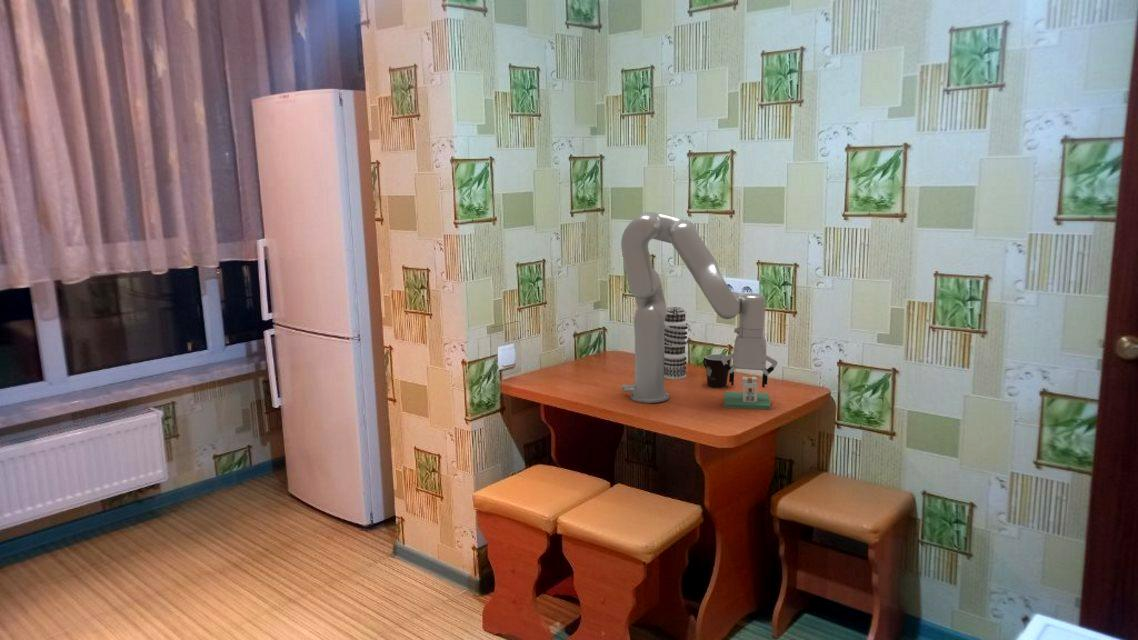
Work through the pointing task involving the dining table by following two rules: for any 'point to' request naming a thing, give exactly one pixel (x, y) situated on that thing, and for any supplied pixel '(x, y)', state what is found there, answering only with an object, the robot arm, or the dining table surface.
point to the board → (737, 400)
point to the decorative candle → (675, 343)
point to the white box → (750, 383)
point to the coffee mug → (716, 371)
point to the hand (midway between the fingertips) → (747, 385)
